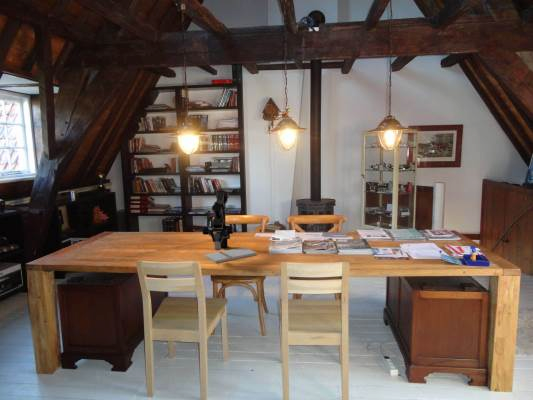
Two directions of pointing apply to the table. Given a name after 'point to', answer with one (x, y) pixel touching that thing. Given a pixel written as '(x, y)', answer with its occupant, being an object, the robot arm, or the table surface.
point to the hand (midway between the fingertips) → (217, 242)
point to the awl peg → (217, 241)
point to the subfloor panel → (230, 254)
